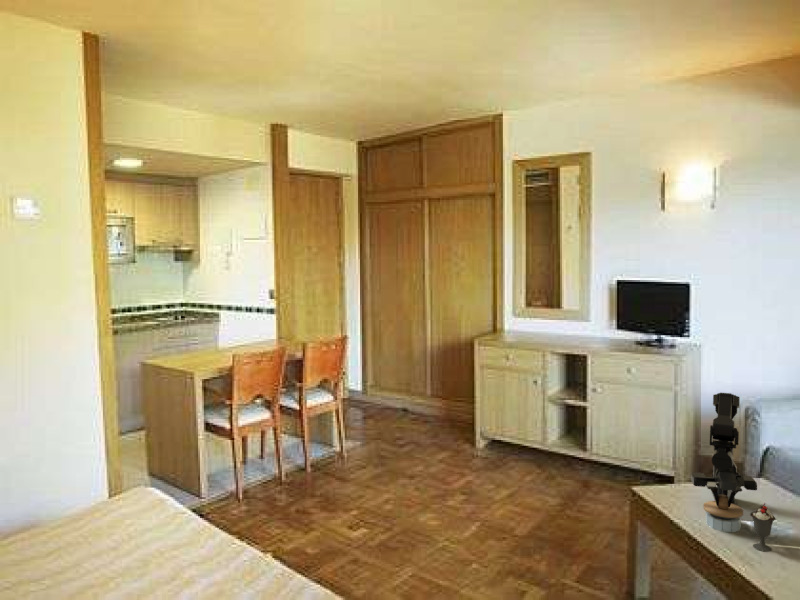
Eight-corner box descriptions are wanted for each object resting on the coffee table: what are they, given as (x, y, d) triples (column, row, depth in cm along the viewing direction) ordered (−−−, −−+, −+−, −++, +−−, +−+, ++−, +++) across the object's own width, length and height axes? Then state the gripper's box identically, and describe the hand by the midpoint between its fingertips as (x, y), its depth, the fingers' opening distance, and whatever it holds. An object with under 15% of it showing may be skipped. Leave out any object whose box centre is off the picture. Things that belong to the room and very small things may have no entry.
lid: (700, 501, 201) (700, 488, 200) (737, 504, 197) (737, 491, 197) (707, 516, 190) (707, 501, 189) (747, 519, 186) (747, 505, 186)
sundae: (763, 554, 175) (763, 506, 174) (744, 544, 182) (745, 497, 181) (780, 551, 177) (781, 503, 176) (761, 541, 183) (762, 495, 182)
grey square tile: (724, 509, 207) (724, 507, 207) (756, 511, 204) (756, 509, 204) (732, 521, 198) (732, 519, 197) (765, 524, 195) (765, 522, 195)
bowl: (702, 518, 200) (703, 507, 200) (735, 521, 197) (735, 510, 197) (709, 531, 190) (709, 520, 190) (744, 535, 188) (744, 523, 187)
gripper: (697, 466, 187) (697, 513, 188) (762, 471, 182) (762, 519, 183) (690, 455, 198) (690, 500, 199) (752, 459, 193) (751, 504, 194)
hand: (723, 506), depth 193 cm, fingers closed on lid, 3 cm apart
